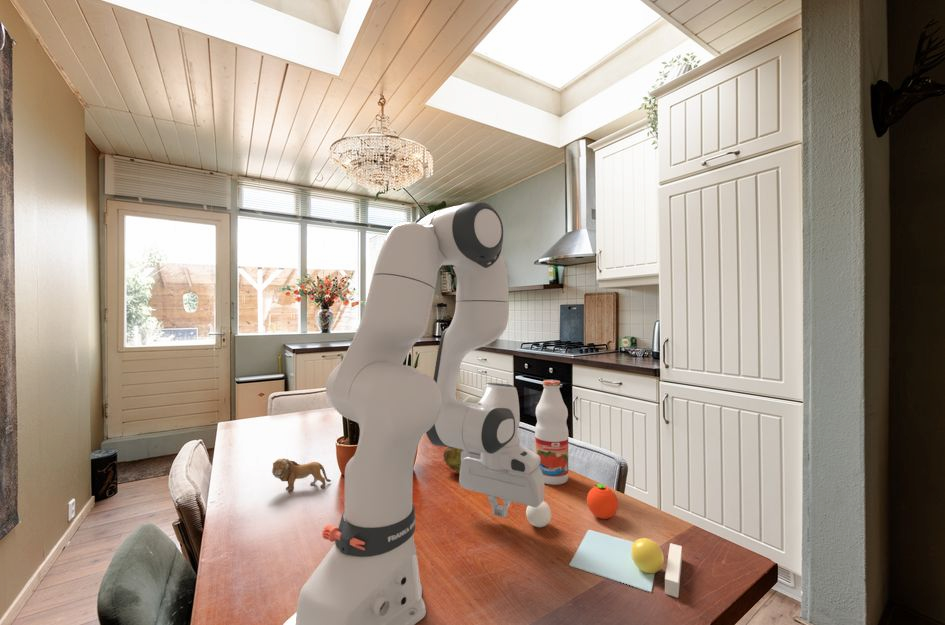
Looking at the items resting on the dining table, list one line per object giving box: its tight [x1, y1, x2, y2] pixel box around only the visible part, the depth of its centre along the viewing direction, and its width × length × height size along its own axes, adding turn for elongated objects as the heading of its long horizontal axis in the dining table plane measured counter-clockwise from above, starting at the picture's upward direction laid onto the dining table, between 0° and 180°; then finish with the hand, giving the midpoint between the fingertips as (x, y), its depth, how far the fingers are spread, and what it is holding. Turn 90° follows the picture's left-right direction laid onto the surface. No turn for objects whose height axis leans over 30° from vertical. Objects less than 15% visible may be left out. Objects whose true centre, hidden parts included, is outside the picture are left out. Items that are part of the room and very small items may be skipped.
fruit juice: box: [534, 379, 569, 486], centre depth 112 cm, size 9×9×28 cm
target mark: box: [568, 529, 656, 593], centre depth 76 cm, size 14×14×1 cm
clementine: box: [586, 483, 619, 520], centre depth 92 cm, size 8×7×7 cm
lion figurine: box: [271, 458, 332, 494], centre depth 106 cm, size 15×5×9 cm, turn 121°
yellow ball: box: [631, 537, 665, 574], centre depth 72 cm, size 6×6×6 cm
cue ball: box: [525, 501, 552, 528], centre depth 87 cm, size 6×6×6 cm
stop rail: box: [664, 542, 683, 599], centre depth 71 cm, size 12×2×2 cm, turn 149°
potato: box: [443, 447, 463, 475], centre depth 116 cm, size 8×13×8 cm, turn 61°
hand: (500, 515), depth 88 cm, fingers closed
